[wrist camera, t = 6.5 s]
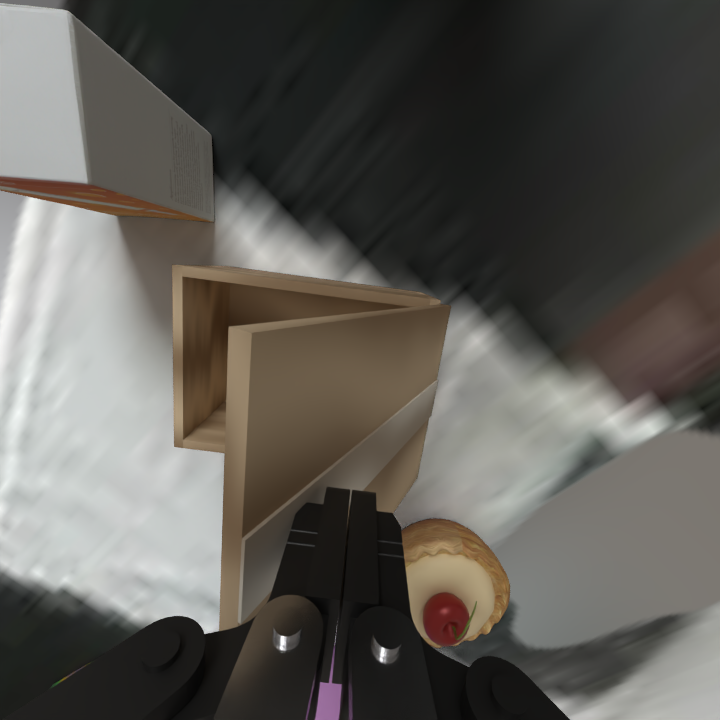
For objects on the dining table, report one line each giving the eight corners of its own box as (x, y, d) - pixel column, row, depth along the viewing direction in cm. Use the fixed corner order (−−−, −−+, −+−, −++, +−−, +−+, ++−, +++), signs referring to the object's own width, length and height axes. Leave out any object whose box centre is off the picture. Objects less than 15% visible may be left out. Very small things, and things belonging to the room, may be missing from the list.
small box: (115, 217, 27) (-103, 171, 14) (106, 125, 25) (-149, -16, 13) (217, 225, 27) (88, 186, 14) (215, 134, 25) (67, 1, 13)
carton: (225, 266, 28) (171, 264, 20) (420, 292, 28) (440, 300, 20) (222, 406, 31) (174, 452, 23) (396, 428, 31) (406, 480, 24)
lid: (228, 326, 7) (255, 333, 6) (441, 304, 20) (452, 306, 20) (215, 735, 10) (234, 754, 9) (408, 474, 23) (418, 478, 23)
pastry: (359, 577, 36) (352, 672, 28) (405, 489, 33) (413, 566, 25) (461, 615, 37) (486, 721, 28) (516, 533, 34) (562, 623, 25)
